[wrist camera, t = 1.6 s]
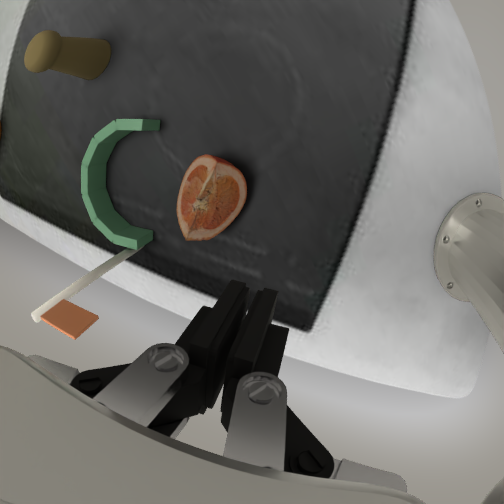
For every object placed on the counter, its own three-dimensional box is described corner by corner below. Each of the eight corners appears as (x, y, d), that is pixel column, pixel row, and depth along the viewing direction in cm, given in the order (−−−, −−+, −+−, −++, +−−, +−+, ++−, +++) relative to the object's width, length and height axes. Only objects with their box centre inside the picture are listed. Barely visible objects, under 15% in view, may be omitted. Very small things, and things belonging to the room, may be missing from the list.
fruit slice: (228, 239, 31) (212, 256, 27) (177, 210, 32) (154, 223, 27) (262, 171, 28) (250, 177, 23) (205, 143, 28) (184, 144, 24)
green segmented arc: (185, 121, 28) (46, 119, 11) (175, 256, 34) (73, 346, 18) (102, 120, 30) (-22, 132, 13) (100, 236, 36) (-1, 295, 20)
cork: (113, 34, 25) (51, 16, 15) (109, 74, 27) (42, 66, 17) (82, 46, 26) (22, 36, 16) (78, 84, 28) (15, 82, 18)
